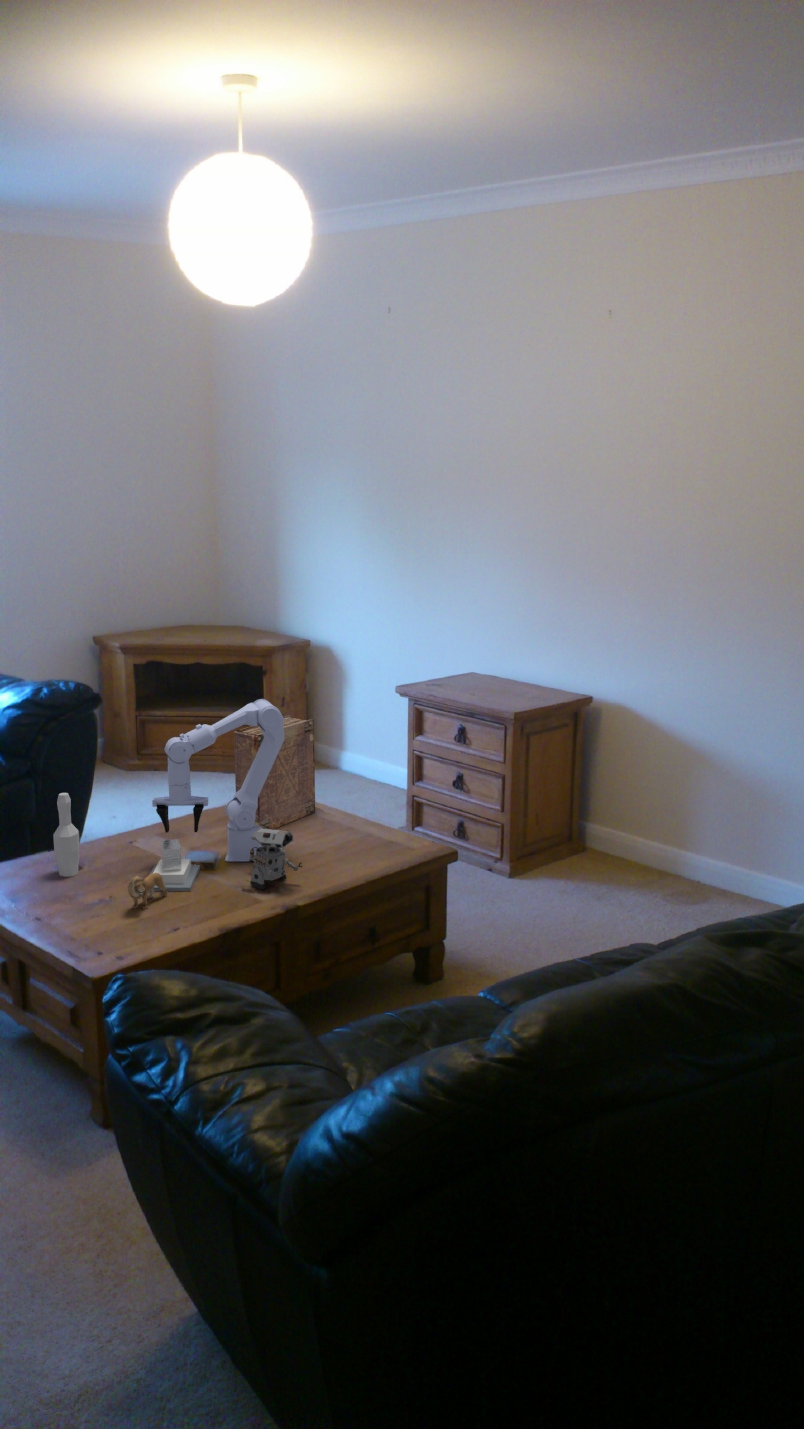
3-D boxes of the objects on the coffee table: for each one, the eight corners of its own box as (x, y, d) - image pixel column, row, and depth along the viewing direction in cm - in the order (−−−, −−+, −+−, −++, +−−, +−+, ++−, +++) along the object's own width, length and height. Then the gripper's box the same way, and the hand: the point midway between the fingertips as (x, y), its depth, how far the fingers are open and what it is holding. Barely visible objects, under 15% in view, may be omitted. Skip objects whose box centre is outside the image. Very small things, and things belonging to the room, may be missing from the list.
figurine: (277, 896, 276) (276, 839, 272) (246, 884, 282) (244, 829, 279) (302, 885, 282) (302, 830, 279) (271, 874, 289) (270, 820, 286)
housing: (179, 860, 289) (178, 839, 288) (181, 870, 283) (180, 848, 281) (162, 862, 288) (161, 840, 287) (163, 871, 281) (162, 849, 280)
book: (292, 807, 344) (291, 714, 336) (315, 813, 338) (314, 718, 331) (236, 829, 323) (233, 731, 316) (259, 835, 318) (257, 736, 311)
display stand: (200, 867, 294) (199, 855, 293) (190, 891, 278) (189, 878, 277) (155, 867, 293) (154, 855, 293) (142, 891, 278) (142, 878, 277)
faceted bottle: (74, 879, 286) (68, 798, 280) (51, 876, 287) (45, 796, 282) (85, 870, 292) (80, 791, 286) (63, 868, 293) (58, 789, 288)
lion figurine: (143, 916, 263) (141, 881, 261) (123, 913, 265) (121, 878, 263) (171, 892, 277) (170, 859, 275) (152, 890, 279) (151, 857, 276)
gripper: (208, 777, 294) (211, 825, 298) (154, 778, 294) (157, 826, 297) (205, 785, 287) (207, 834, 291) (149, 786, 287) (152, 835, 290)
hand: (181, 831), depth 293 cm, fingers open, 7 cm apart
